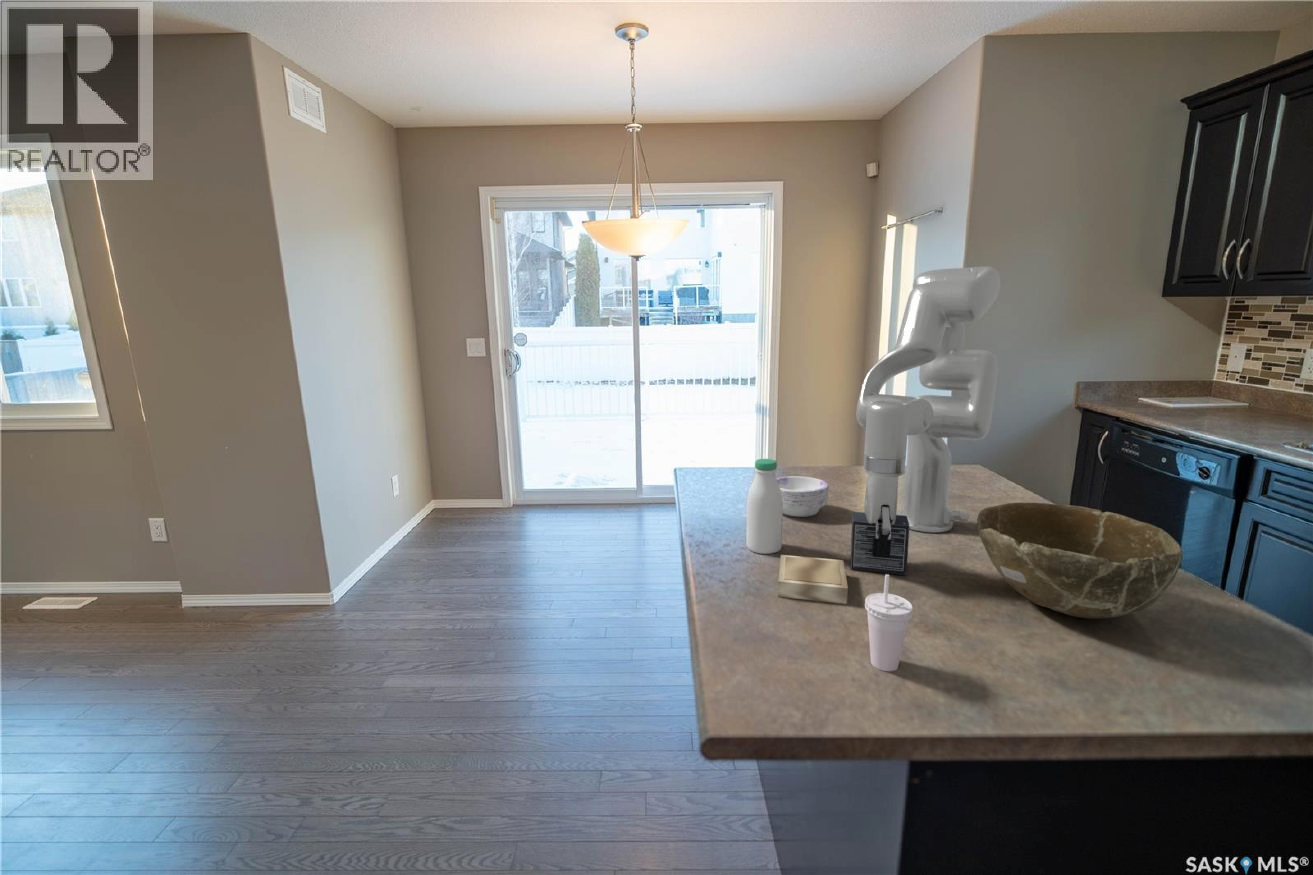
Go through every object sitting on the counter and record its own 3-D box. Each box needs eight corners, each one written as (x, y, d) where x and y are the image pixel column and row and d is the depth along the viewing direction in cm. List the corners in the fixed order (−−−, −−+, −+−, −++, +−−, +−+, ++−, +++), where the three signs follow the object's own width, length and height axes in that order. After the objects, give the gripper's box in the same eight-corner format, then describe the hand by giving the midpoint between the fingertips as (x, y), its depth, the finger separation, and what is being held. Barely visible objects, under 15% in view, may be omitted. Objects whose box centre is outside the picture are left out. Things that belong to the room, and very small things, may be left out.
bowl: (997, 639, 87) (1008, 549, 84) (955, 566, 112) (962, 496, 109) (1213, 665, 79) (1234, 568, 76) (1116, 581, 105) (1128, 506, 102)
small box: (904, 562, 114) (907, 514, 112) (907, 576, 108) (911, 525, 106) (849, 556, 117) (852, 509, 115) (849, 569, 111) (852, 520, 109)
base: (842, 574, 109) (843, 559, 109) (846, 603, 98) (847, 587, 97) (780, 568, 112) (780, 554, 112) (777, 596, 101) (778, 580, 100)
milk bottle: (781, 556, 118) (784, 465, 114) (745, 553, 120) (747, 464, 116) (781, 542, 126) (783, 456, 122) (746, 540, 127) (748, 455, 123)
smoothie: (853, 652, 84) (859, 566, 81) (894, 649, 84) (901, 564, 82) (873, 678, 78) (880, 586, 75) (917, 675, 78) (925, 584, 75)
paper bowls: (773, 500, 155) (773, 472, 154) (829, 505, 150) (831, 477, 148) (763, 517, 142) (763, 488, 140) (824, 524, 136) (826, 494, 134)
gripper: (859, 453, 117) (855, 532, 121) (868, 475, 101) (863, 566, 105) (897, 454, 115) (891, 534, 119) (913, 477, 99) (906, 570, 103)
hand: (878, 548), depth 112 cm, fingers closed on small box, 6 cm apart
